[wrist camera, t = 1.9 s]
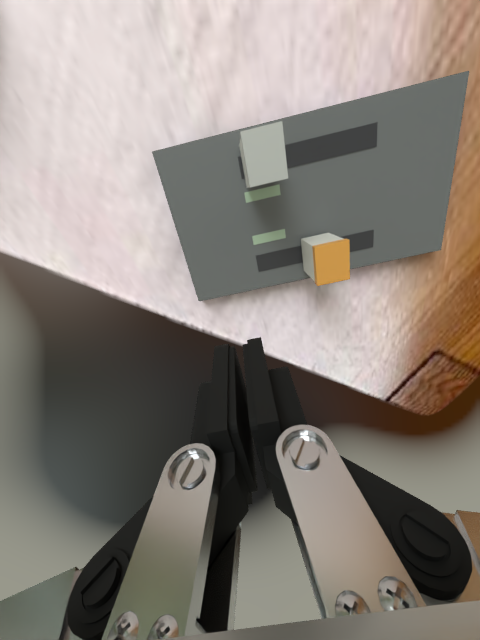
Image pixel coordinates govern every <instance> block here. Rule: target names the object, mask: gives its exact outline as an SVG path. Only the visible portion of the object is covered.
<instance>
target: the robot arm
mask: <svg viewBox="0 0 480 640" xmlns="http://www.w3.org/2000/svg"><path fill="white" fill-rule="evenodd" d="M247 342H248V344H244V345H243V355H244V367H245V378H246V387H245V383H244V379H243V376H242V372H241V368H240V364H239V360H238V357H237V352H236V349H235V347H230V346H229V344H226V345H220V346H215V349H214V359H213V369H212V380H211V381H209V382H203V383H201V384H200V386H199V391H198V397H197V404H196V410H195V416H194V423H193V429H192V435H191V442H190V444H189V445H187V446H185V447H182V448H181V449H179V450H178V451H177V452H175V453H174V454H173V455H172V457H171V458H170V459H169V460H168V462H167V464H166V466H165V467H164V470H163V473H162V475H161V478H160V481H159V483H158V486H157V489H156V492H155V494H154V496H153V497H152V498H151V499H150V500H149V501H148V502H147V503H146V504H145V505H144V506H143V507H142V508H141V509H140V510H139V511H138V512H137V513H136V514H135V515H134V516H133V517H132V518H131V519H130V520H129V521H128V522H127V523H126V524H125V525H124V526H123V527H122V528H121V529H120V530H119V531H118V532H117V533H116V534H115V535H114V536H113V537H112V538H111V539H110V540H109V541H108V542H107V543H106V544H105V545H104V546H103V547H102V548H101V549H100V550H99V551H98V552H97V553H96V554H95V555H94V556H93V558H92V559H91V560H90V561H89V562H88V564H87V565H86V566H85V567H84V568H82V569H80V570H79V569H78V568H77V567H74V568H72V569H70V570H68V571H65V572H63V573H61V574H59V575H57V576H54V577H52V578H50V579H48V580H46V581H43V582H41V583H39V584H37V585H35V586H32V587H30V588H28V589H26V590H24V591H21V592H19V593H17V594H15V595H13V596H10V597H8V598H6V599H4V600H2V601H0V640H480V513H477V512H468V511H460V510H457V511H456V513H455V514H450V513H441V512H439V511H438V510H437V509H435V508H434V507H432V506H431V505H429V504H427V503H425V502H423V501H422V500H420V499H418V498H416V497H414V496H413V495H411V494H409V493H407V492H405V491H404V490H402V489H400V488H398V487H396V486H394V485H393V484H391V483H389V482H387V481H385V480H384V479H382V478H380V477H378V476H376V475H374V474H373V473H371V472H369V471H367V470H365V469H364V468H362V467H360V466H358V465H356V464H355V463H353V462H351V461H349V460H347V459H345V458H344V457H342V456H340V455H339V454H338V452H337V450H336V449H335V447H334V445H333V444H332V442H331V440H330V439H329V438H328V436H327V435H326V434H325V433H324V432H322V431H321V430H320V429H318V428H315V427H313V426H310V425H307V422H306V420H305V417H304V414H303V411H302V408H301V405H300V402H299V399H298V396H297V393H296V390H295V387H294V384H293V381H292V378H291V375H290V372H289V369H288V367H282V368H276V369H271V370H268V369H267V364H266V360H265V355H264V350H263V346H262V341H261V337H260V338H255V339H250V340H247ZM253 439H254V443H255V447H256V450H257V454H258V457H259V461H260V465H261V468H262V472H263V475H264V479H265V482H266V486H267V489H272V493H273V497H274V501H275V505H276V507H277V508H278V509H280V510H281V511H282V512H283V513H284V514H286V515H287V516H288V517H289V518H290V519H291V521H292V525H293V528H294V531H295V534H296V538H297V541H298V544H299V547H300V550H301V554H302V557H303V560H304V563H305V567H306V570H307V573H308V576H309V580H310V583H311V586H312V589H313V593H314V596H315V599H316V602H317V606H318V609H319V612H320V615H321V619H318V620H310V621H302V622H293V623H286V624H278V625H270V626H262V627H254V628H246V629H238V630H234V621H235V607H236V594H237V580H238V568H239V553H240V541H241V521H242V519H243V518H244V516H245V515H246V513H247V512H248V504H252V492H255V491H257V481H256V480H257V479H256V468H255V458H254V447H253Z"/></svg>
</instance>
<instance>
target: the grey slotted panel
mask: <svg viewBox="0 0 480 640" xmlns="http://www.w3.org/2000/svg"><path fill="white" fill-rule="evenodd" d="M468 75H469V71H466V72H462V73H458V74H455V75H451V76H447V77H443V78H439V79H435V80H431V81H427V82H423V83H419V84H415V85H411V86H408V87H404V88H400V89H396V90H392V91H388V92H384V93H380V94H376V95H372V96H368V97H364V98H361V99H357V100H353V101H349V102H345V103H341V104H337V105H333V106H329V107H325V108H321V109H317V110H314V111H310V112H306V113H302V114H298V115H294V116H290V117H286V118H282V119H278V120H274V121H270V122H266V123H263V124H259V125H255V126H251V127H247V128H243V129H239V130H235V131H231V132H227V133H223V134H219V135H216V136H212V137H208V138H204V139H200V140H196V141H192V142H188V143H184V144H180V145H176V146H172V147H169V148H165V149H161V150H157V151H153V152H152V153H153V156H154V159H155V163H156V166H157V169H158V172H159V175H160V179H161V182H162V185H163V188H164V191H165V195H166V198H167V201H168V204H169V207H170V211H171V214H172V217H173V220H174V223H175V227H176V230H177V233H178V236H179V239H180V243H181V246H182V249H183V252H184V255H185V259H186V262H187V265H188V268H189V271H190V275H191V278H192V281H193V284H194V287H195V291H196V294H197V297H198V300H199V301H203V300H208V299H212V298H217V297H222V296H227V295H231V294H236V293H241V292H245V291H250V290H255V289H259V288H264V287H269V286H274V285H278V284H283V283H288V282H292V281H297V280H302V279H306V278H311V277H310V276H309V275H308V274H307V273H306V272H305V271H304V268H303V257H302V247H301V239H302V238H307V237H311V236H315V235H320V234H324V233H331V234H333V235H336V236H338V237H341V238H343V239H349V244H350V269H353V268H358V267H363V266H368V265H372V264H377V263H382V262H386V261H391V260H396V259H400V258H405V257H410V256H415V255H419V254H424V253H429V252H433V251H438V250H441V246H442V240H443V234H444V227H445V221H446V215H447V208H448V202H449V196H450V189H451V183H452V177H453V170H454V164H455V158H456V151H457V145H458V139H459V132H460V126H461V120H462V113H463V107H464V101H465V94H466V88H467V82H468ZM280 121H282V124H283V133H284V143H285V152H286V161H287V171H288V179H284V180H279V181H275V182H271V183H267V184H263V185H259V186H254V187H250V188H247V187H246V181H245V175H244V170H243V164H242V158H241V153H240V147H239V143H240V137H241V136H240V132H241V131H245V130H249V129H253V128H256V127H260V126H264V125H268V124H272V123H276V122H280Z"/></svg>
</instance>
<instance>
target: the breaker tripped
mask: <svg viewBox="0 0 480 640" xmlns="http://www.w3.org/2000/svg"><path fill="white" fill-rule="evenodd" d="M301 247H302V257H303V268H304V271H305V272H306V273H307V274H308V275H309V276H310V277H311V279H312V280H313V281H314V282H315V284H316V285H317V286H319V285H324V284H329V283H334V282H338V281H343V280H348V279H350V244H349V239H343V238H341V237H338V236H336V235H333V234H331V233H324V234H320V235H315V236H311V237H307V238H302V239H301Z"/></svg>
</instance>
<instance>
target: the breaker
mask: <svg viewBox="0 0 480 640" xmlns="http://www.w3.org/2000/svg"><path fill="white" fill-rule="evenodd" d="M240 136H241V137H240V143H239V147H240V153H241V158H242V164H243V170H244V175H245V181H246V187H247V188H250V187H254V186H259V185H263V184H267V183H271V182H275V181H279V180H284V179H288V171H287V161H286V152H285V143H284V133H283V124H282V121H280V122H276V123H272V124H268V125H264V126H260V127H256V128H253V129H249V130H245V131H241V132H240Z"/></svg>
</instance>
